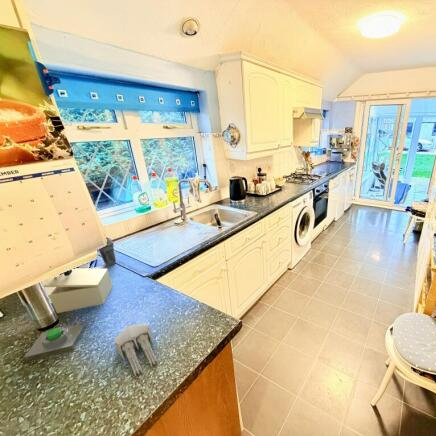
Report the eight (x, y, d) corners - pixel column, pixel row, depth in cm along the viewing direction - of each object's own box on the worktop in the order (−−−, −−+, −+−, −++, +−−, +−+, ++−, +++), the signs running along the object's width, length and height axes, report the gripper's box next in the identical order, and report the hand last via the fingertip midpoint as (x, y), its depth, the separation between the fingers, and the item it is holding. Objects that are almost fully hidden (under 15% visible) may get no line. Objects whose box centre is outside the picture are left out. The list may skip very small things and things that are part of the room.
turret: (130, 386, 70) (126, 377, 67) (113, 339, 81) (109, 330, 79) (165, 364, 76) (163, 355, 74) (145, 323, 88) (143, 314, 86)
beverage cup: (99, 266, 125) (87, 232, 118) (111, 259, 132) (101, 226, 124) (109, 268, 123) (99, 233, 116) (122, 261, 130) (112, 228, 123)
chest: (56, 313, 93) (48, 295, 90) (71, 293, 104) (64, 277, 101) (103, 303, 99) (98, 286, 96) (113, 286, 110) (107, 270, 106)
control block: (26, 362, 74) (21, 352, 73) (44, 337, 83) (40, 328, 81) (73, 350, 78) (70, 341, 77) (86, 328, 87) (82, 319, 85)
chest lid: (43, 287, 89) (43, 275, 87) (60, 269, 100) (59, 259, 98) (97, 286, 95) (97, 276, 94) (107, 270, 106) (107, 260, 105)
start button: (45, 341, 77) (43, 337, 76) (51, 333, 80) (49, 329, 79) (59, 338, 78) (57, 334, 78) (64, 330, 81) (62, 326, 81)
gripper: (17, 226, 82) (42, 282, 90) (64, 221, 86) (84, 275, 95) (30, 219, 88) (53, 272, 97) (73, 215, 93) (91, 266, 101)
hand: (68, 273), depth 96 cm, fingers closed
